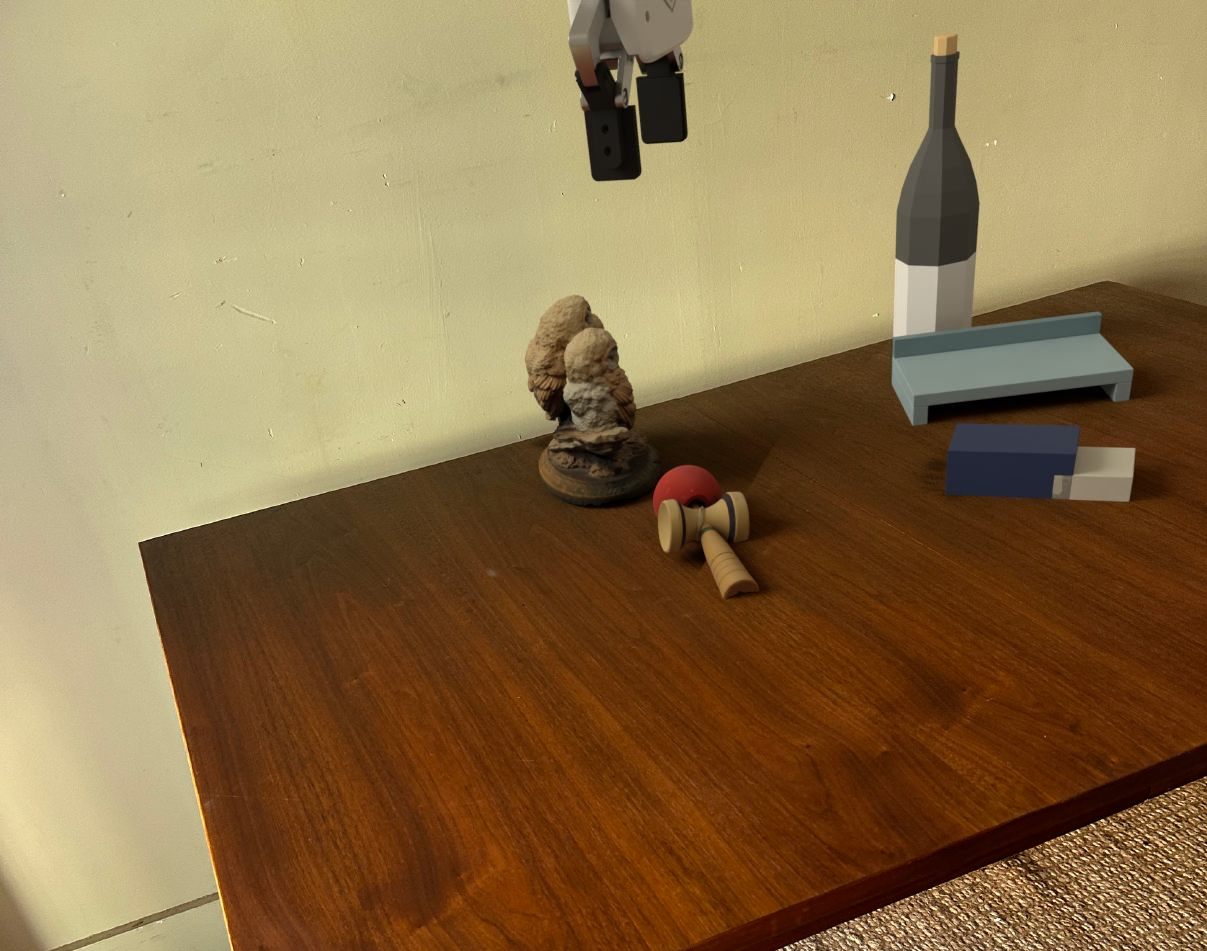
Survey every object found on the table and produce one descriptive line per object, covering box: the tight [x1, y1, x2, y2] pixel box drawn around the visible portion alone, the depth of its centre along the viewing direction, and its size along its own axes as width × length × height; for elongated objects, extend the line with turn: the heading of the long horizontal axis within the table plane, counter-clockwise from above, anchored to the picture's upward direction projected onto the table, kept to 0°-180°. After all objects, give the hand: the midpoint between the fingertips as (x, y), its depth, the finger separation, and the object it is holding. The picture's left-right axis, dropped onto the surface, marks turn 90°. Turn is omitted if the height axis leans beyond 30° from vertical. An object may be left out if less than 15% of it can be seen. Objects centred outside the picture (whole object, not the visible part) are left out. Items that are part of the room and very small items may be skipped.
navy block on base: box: [944, 423, 1136, 503], centre depth 101 cm, size 16×6×6 cm, turn 70°
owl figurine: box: [524, 294, 662, 507], centre depth 112 cm, size 18×12×17 cm, turn 14°
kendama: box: [652, 464, 760, 600], centre depth 99 cm, size 8×6×18 cm
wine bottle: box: [892, 32, 981, 338], centre depth 120 cm, size 8×8×30 cm
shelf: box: [891, 310, 1135, 426], centre depth 116 cm, size 20×11×6 cm, turn 90°
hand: (642, 159), depth 79 cm, fingers open, 9 cm apart
